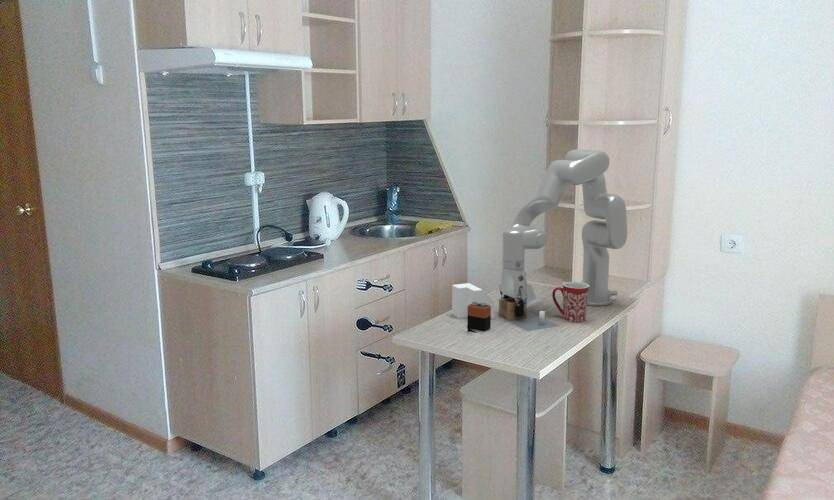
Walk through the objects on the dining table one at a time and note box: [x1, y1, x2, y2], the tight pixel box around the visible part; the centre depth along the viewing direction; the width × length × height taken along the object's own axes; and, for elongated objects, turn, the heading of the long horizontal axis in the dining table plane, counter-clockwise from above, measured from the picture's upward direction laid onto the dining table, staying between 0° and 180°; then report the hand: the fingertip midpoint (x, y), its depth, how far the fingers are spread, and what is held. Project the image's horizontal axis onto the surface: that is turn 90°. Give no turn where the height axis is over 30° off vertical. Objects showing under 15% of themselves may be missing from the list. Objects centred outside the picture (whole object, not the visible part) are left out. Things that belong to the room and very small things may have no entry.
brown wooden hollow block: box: [498, 297, 528, 321], centre depth 238 cm, size 7×7×6 cm
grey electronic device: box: [509, 283, 541, 309], centre depth 253 cm, size 17×5×10 cm, turn 144°
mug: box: [552, 281, 589, 323], centre depth 235 cm, size 13×9×14 cm
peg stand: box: [495, 310, 560, 332], centre depth 233 cm, size 13×20×6 cm, turn 25°
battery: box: [466, 302, 492, 334], centre depth 225 cm, size 4×7×10 cm, turn 56°
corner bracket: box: [451, 282, 495, 320], centre depth 239 cm, size 11×11×12 cm
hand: (512, 312), depth 238 cm, fingers open, 8 cm apart
